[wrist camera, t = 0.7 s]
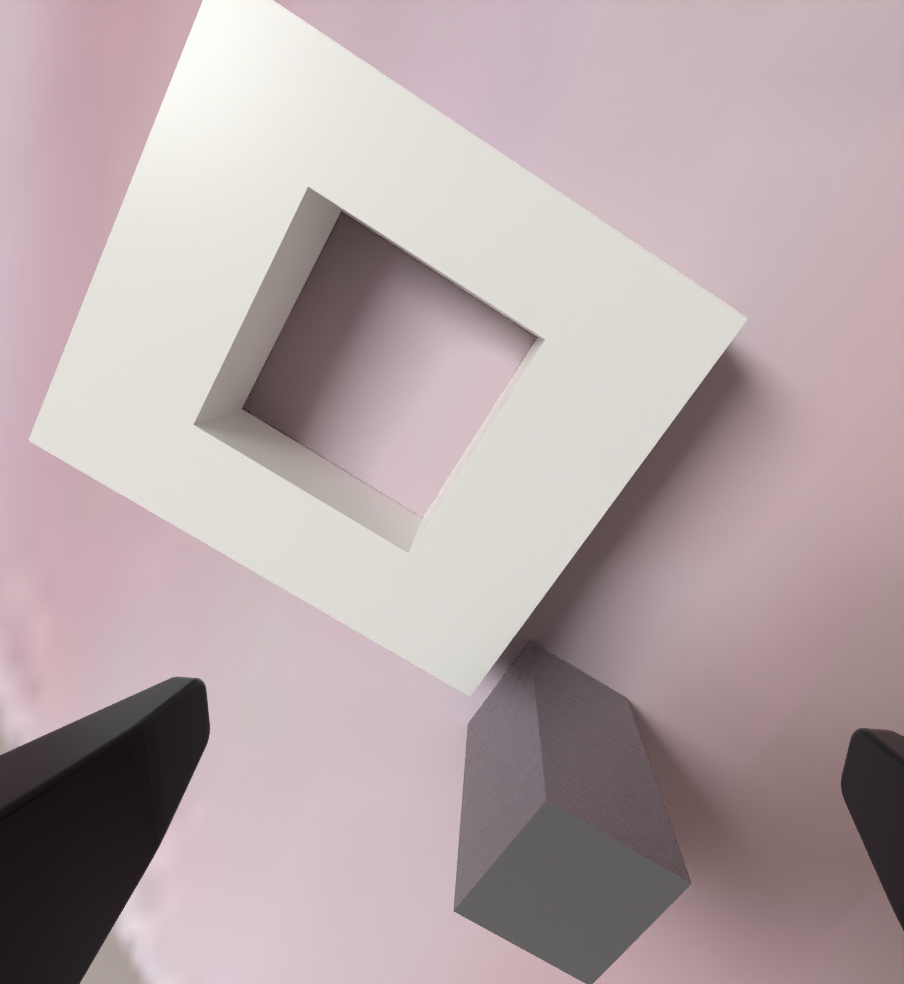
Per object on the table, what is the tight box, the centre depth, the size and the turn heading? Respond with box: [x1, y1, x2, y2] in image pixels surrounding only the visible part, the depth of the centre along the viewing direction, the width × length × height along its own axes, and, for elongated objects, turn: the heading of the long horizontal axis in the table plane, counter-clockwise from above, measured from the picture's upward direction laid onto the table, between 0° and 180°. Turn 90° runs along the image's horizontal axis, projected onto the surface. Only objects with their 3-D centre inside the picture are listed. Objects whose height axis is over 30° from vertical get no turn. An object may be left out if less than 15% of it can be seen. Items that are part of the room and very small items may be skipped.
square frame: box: [28, 0, 748, 697], centre depth 19 cm, size 16×14×4 cm
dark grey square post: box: [454, 641, 691, 984], centre depth 20 cm, size 4×4×8 cm
